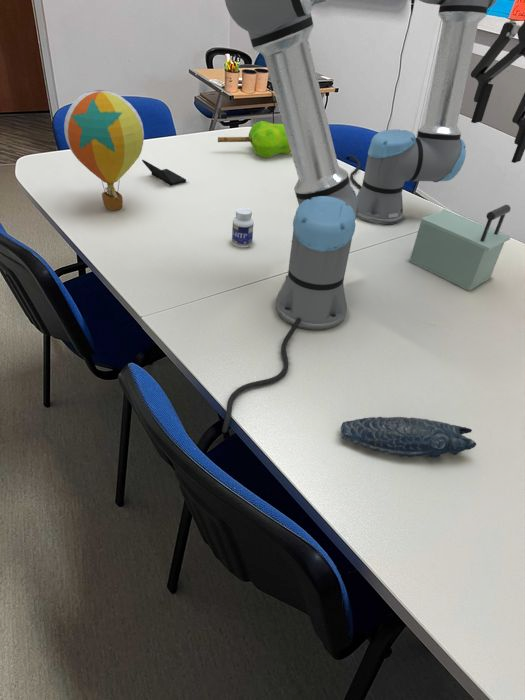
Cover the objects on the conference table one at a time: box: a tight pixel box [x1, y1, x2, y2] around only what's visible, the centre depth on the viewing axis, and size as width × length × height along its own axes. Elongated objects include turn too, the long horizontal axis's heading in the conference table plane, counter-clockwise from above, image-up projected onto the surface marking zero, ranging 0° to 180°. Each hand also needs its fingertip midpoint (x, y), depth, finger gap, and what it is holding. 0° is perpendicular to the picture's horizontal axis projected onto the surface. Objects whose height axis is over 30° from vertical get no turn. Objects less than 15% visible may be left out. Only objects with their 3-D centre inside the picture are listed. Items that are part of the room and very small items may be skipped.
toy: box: [63, 89, 145, 212], centre depth 136 cm, size 20×20×30 cm
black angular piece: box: [141, 159, 187, 187], centre depth 162 cm, size 12×7×10 cm
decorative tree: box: [217, 120, 292, 159], centre depth 187 cm, size 18×10×30 cm
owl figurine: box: [340, 416, 477, 458], centre depth 82 cm, size 7×21×5 cm, turn 84°
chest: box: [409, 221, 505, 291], centre depth 129 cm, size 17×10×11 cm, turn 42°
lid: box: [420, 204, 511, 251], centre depth 122 cm, size 18×10×8 cm, turn 42°
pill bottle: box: [231, 207, 255, 248], centre depth 132 cm, size 5×5×9 cm
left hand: (509, 131), depth 96 cm, fingers open, 13 cm apart
